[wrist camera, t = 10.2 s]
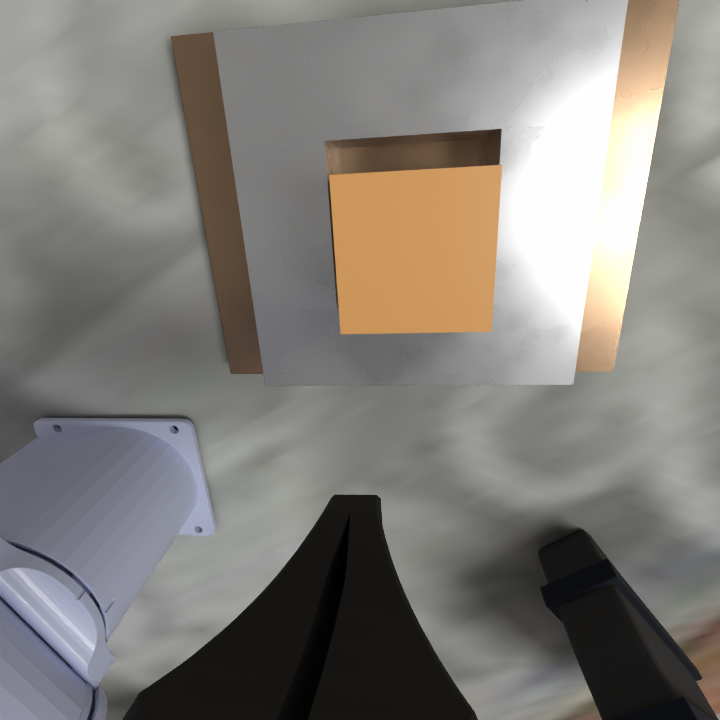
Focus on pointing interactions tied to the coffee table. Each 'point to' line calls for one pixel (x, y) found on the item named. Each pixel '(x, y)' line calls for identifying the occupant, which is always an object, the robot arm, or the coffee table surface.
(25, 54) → the coffee table surface
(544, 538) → the coffee table surface
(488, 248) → the orange rectangular block
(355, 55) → the socket
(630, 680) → the black ridged slab
